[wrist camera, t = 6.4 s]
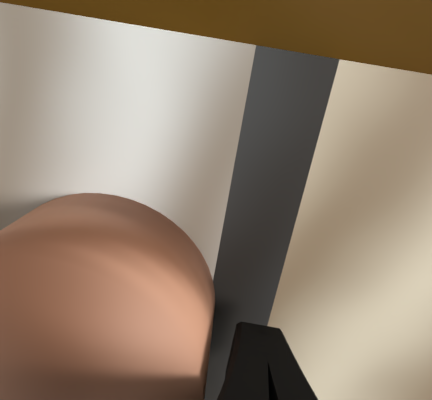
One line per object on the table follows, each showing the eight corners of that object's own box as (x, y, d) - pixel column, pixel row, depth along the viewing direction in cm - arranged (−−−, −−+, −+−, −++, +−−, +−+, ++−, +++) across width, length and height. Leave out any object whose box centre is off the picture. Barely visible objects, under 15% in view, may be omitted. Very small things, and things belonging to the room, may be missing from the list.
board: (898, 157, 8) (979, 167, 7) (565, 511, 14) (588, 542, 13) (-258, -37, 9) (-318, -51, 8) (-127, 387, 14) (-152, 408, 13)
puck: (234, 218, 9) (232, 294, 6) (196, 391, 12) (180, 511, 8) (-6, 172, 9) (-140, 222, 6) (8, 354, 12) (-82, 460, 8)
